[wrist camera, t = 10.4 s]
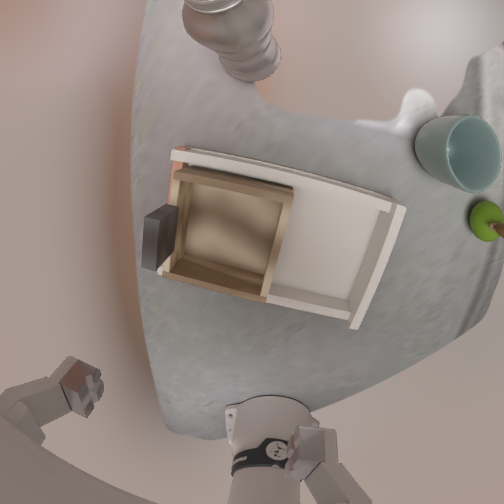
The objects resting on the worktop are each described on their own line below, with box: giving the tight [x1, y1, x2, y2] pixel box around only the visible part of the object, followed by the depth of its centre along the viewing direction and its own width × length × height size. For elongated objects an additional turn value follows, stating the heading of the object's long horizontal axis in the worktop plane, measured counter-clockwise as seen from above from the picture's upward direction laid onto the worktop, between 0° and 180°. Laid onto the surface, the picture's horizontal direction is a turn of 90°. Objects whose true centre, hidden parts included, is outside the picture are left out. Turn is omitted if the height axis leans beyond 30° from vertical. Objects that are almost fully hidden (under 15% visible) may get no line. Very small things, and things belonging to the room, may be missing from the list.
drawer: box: [141, 165, 294, 303], centre depth 30 cm, size 12×12×11 cm
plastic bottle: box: [182, 0, 281, 81], centre depth 19 cm, size 6×7×20 cm
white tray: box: [158, 146, 407, 330], centre depth 34 cm, size 16×26×6 cm, turn 78°
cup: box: [415, 114, 502, 193], centre depth 25 cm, size 8×8×10 cm
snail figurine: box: [470, 201, 504, 242], centre depth 26 cm, size 5×6×12 cm
